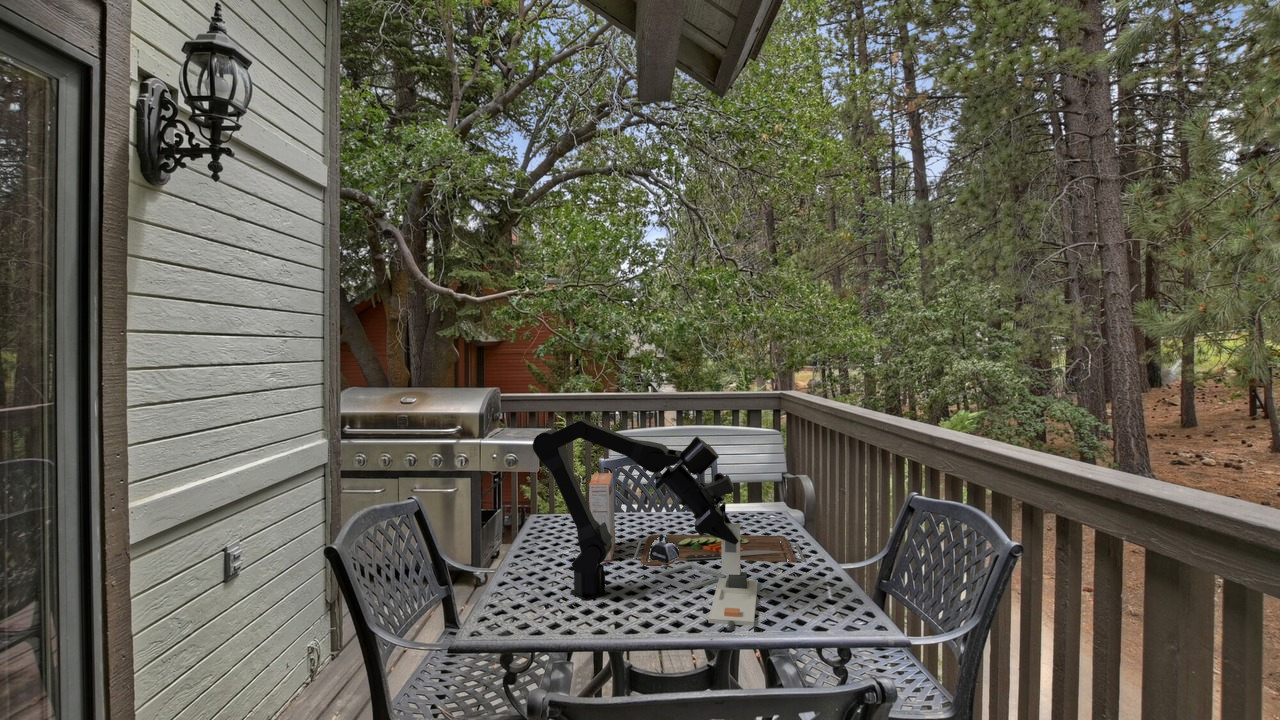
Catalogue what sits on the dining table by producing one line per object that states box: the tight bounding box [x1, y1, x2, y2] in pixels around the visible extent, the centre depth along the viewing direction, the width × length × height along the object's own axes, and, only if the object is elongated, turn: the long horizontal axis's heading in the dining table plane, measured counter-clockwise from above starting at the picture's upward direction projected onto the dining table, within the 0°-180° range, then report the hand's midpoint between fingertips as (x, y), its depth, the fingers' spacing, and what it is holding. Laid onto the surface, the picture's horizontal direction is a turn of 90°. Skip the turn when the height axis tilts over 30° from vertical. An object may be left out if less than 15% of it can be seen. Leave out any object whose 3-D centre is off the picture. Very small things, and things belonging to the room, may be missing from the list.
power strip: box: [708, 577, 759, 632], centre depth 145 cm, size 27×9×2 cm, turn 168°
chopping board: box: [632, 533, 807, 567], centre depth 184 cm, size 45×27×3 cm, turn 84°
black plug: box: [727, 569, 748, 589], centre depth 155 cm, size 4×4×4 cm
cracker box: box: [588, 472, 616, 562], centre depth 184 cm, size 14×6×21 cm, turn 178°
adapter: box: [721, 522, 741, 575], centre depth 149 cm, size 4×5×10 cm
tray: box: [654, 563, 727, 591], centre depth 162 cm, size 12×12×1 cm
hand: (737, 539), depth 149 cm, fingers closed on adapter, 5 cm apart
